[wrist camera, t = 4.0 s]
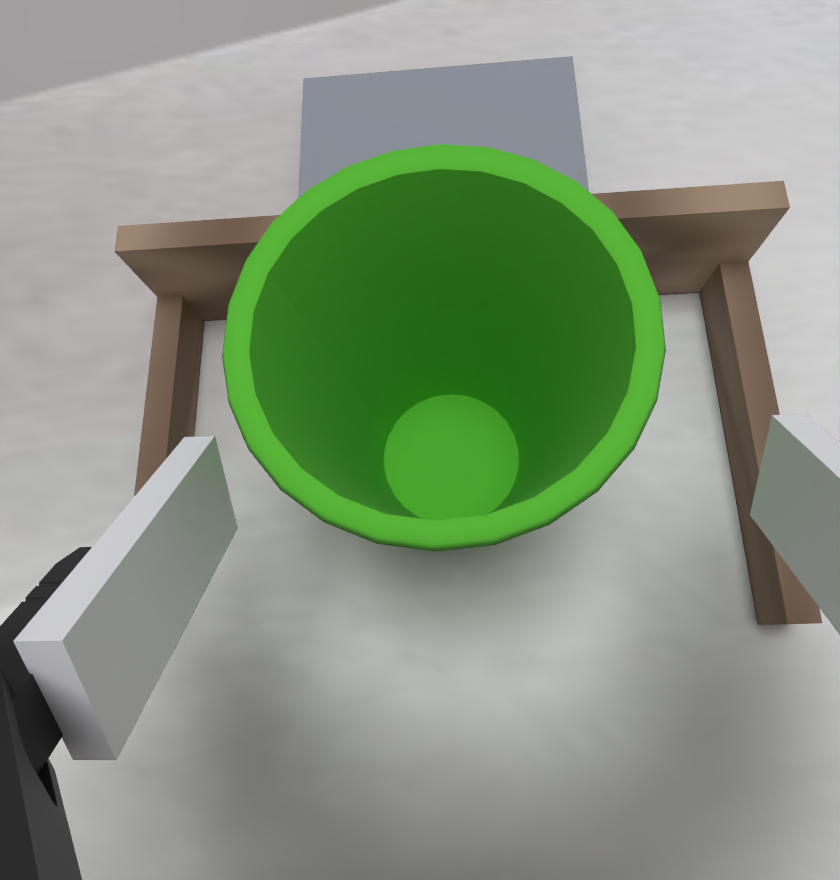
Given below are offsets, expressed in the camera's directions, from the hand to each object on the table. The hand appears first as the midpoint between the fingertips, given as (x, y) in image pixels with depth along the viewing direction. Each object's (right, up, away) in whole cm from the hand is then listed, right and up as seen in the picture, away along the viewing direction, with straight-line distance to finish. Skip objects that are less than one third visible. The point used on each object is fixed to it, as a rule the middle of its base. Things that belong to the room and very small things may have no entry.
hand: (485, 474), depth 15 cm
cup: (0, 0, +8) cm, 8 cm away
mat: (-1, +12, +12) cm, 17 cm away
